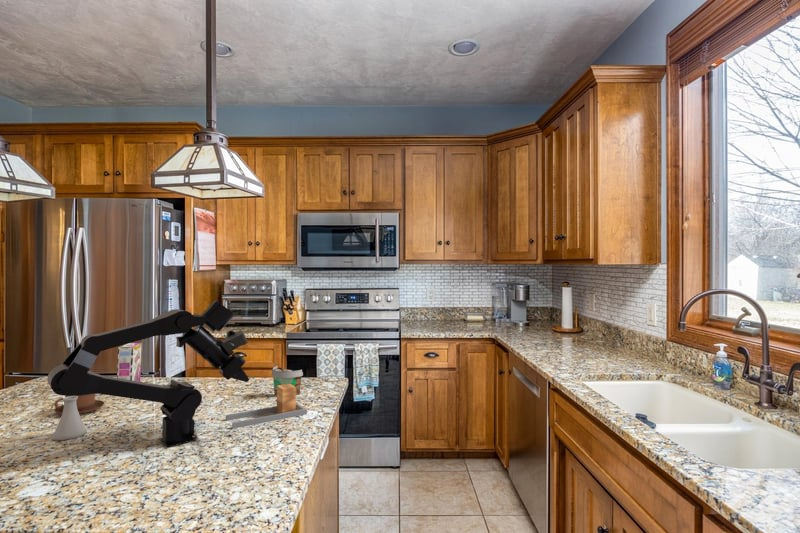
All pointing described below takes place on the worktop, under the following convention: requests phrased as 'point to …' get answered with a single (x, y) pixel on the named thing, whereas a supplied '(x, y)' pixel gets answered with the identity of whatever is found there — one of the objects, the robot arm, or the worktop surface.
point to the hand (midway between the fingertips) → (247, 380)
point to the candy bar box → (129, 361)
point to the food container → (286, 378)
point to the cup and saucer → (82, 404)
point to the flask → (69, 421)
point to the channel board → (298, 412)
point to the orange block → (286, 398)
